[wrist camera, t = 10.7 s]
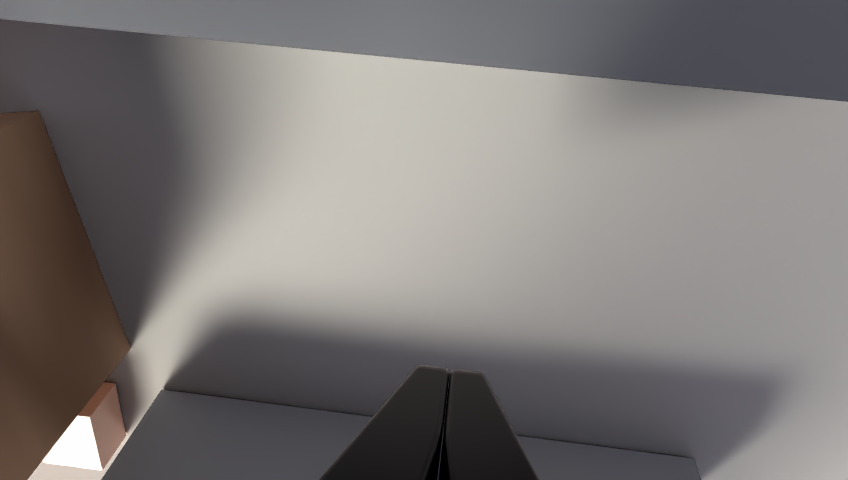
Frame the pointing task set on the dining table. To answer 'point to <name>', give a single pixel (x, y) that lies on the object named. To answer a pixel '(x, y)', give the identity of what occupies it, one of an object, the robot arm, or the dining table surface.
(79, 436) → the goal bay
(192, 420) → the walled tunnel
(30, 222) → the walnut block
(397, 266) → the dining table surface
